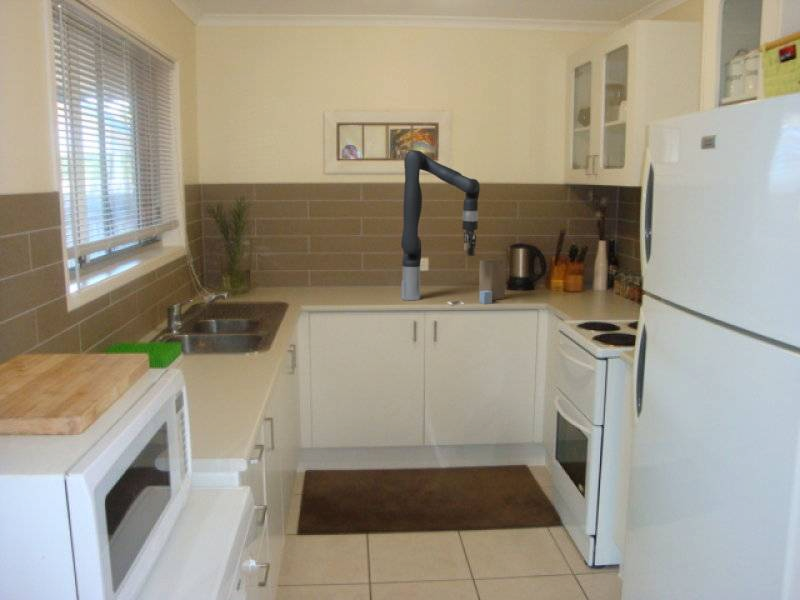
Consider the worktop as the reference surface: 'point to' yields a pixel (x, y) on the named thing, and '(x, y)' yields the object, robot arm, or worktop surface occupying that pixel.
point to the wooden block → (492, 277)
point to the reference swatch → (455, 303)
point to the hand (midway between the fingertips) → (469, 254)
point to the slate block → (485, 297)
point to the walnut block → (466, 250)
